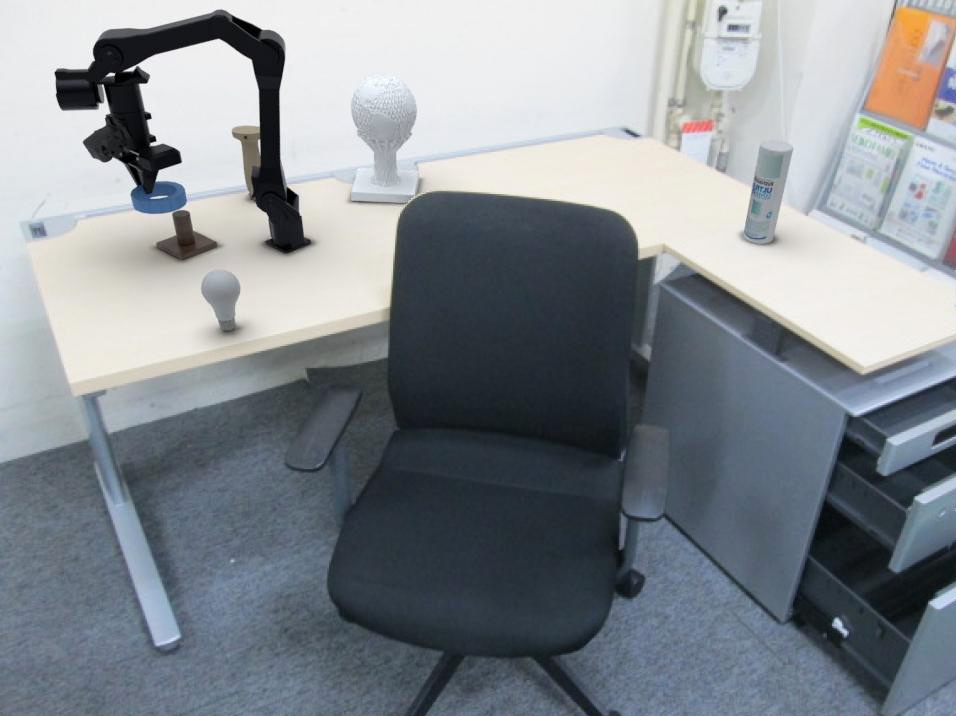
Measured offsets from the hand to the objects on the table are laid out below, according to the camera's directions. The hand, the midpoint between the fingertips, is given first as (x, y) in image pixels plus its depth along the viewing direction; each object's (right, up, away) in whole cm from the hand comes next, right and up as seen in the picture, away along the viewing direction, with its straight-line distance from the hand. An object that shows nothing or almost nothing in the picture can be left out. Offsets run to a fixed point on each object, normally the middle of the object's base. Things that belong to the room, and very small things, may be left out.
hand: (146, 192), depth 169 cm
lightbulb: (+20, -27, -15) cm, 37 cm away
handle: (+12, +5, +29) cm, 32 cm away
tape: (+3, -2, -1) cm, 4 cm away
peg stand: (+4, -9, +9) cm, 13 cm away
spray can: (+119, -4, +24) cm, 122 cm away
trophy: (+39, +9, +35) cm, 53 cm away
